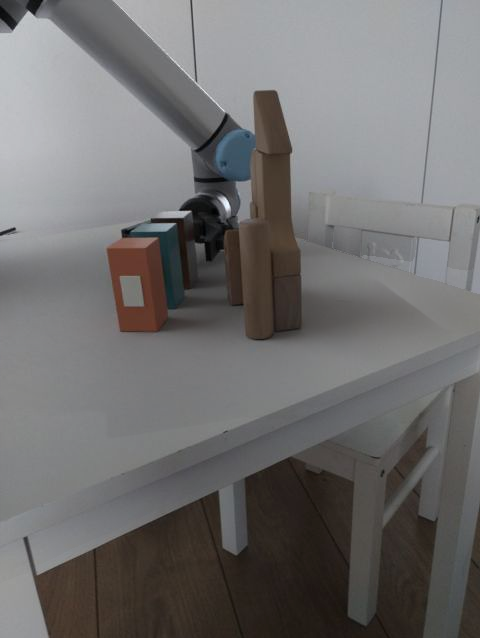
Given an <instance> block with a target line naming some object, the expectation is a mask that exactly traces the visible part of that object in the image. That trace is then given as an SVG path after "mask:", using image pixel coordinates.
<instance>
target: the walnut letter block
mask: <svg viewBox="0 0 480 638" xmlns="http://www.w3.org/2000/svg"><path fill="white" fill-rule="evenodd" d="M150 220H151V223H177V231H178V240H179V249H180V258H181V268H182V277H183V286H184V290H192V288H193V287H194V286H195V284H196V283H197V282H198V280H199V271H198V270H199V269H198V259H197V249H196V243H195V237H194V227H193V217H192V211H179V210H169V211H168V210H167V211H166V210H163V211H159V212H158V213H156V214H155V215H154V216H152V217H150Z"/></svg>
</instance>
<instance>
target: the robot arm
mask: <svg viewBox="0 0 480 638" xmlns="http://www.w3.org/2000/svg"><path fill="white" fill-rule="evenodd" d="M28 12H29V13H30V14H31V15H33V16H34V17H35V18H36V19H43V20H44V19H47V20H49V21H50V22H52V23H53V24H54V25H55V26H56V27H57V28H58V29H60V30H61V32H63V33H64V34H65V35H66V36H67V37H68V38H69V39H70V40H72V41H73V42H74V43H75V44H76V45H77V46H78V47H79V48H80V49H81V50H83V52H84V53H86V54H87V55H88V56H89V57H90V58H91V59H92V60H93V61H95V62H96V63H97V64H98V65H99V66H100V67H101V68H102V69H103V70H105V72H107V73H108V74H109V75H110V76H111V77H112V78H113V79H114V80H115V81H117V83H119V84H120V85H121V86H122V87H123V88H124V89H125V90H127V92H129V93H130V94H131V95H132V96H133V97H134V98H136V100H138V102H140V103H141V105H143V106H144V107H145V108H147V110H149V111H150V112H151V113H152V114H153V115H154V116H155V117H156V118H158V120H160V121H161V122H162V123H163V125H165V126H166V127H167V128H168V129H170V130H171V131H172V132H173V133H174V134H175V135H176V136H177V137H179V139H181V140H182V141H183V142H184V143H185V144H186V145H187V146H188V147H189V148H190V153H191V163H192V171H193V185H194V195H192V196H191V197H190V198H188V199H187V200H185V201H184V203H182V205H181V206H180V207H179V209H178V211H192V217H193V227H194V237H195V244H200V245H203V244H204V254H205V262H213V260H214V259H215V258H216V256H217V255H218V254H219V253H220V251H224V235H225V232H226V230H235V229H239V219H238V217H239V216H238V213H239V210H240V208H241V204H242V197H241V193H240V191H239V190H238V188H237V182H239V183H240V182H241V183H243V182H247V181H251V173H250V162H251V156H252V150H253V149H254V148H256V147H255V133H253V132H252V131H251V130H248V129H246V128H242V126H240V124H238V123H237V122H236V121H235V120H234V119H233V118H232V116H231V114H230V113H228V112H226V111H225V110H224V109H223V108H222V107H221V106H220V105H219V104H218V103H217V101H216V100H214V98H213V97H211V95H209V93H208V92H207V91H205V90H204V89H203V88H202V86H200V84H199V83H198V82H197V81H195V80H194V79H193V78H192V77H191V75H190V74H188V72H186V70H184V69H183V68H182V66H180V65H179V64H178V62H177V61H176V60H174V58H172V57H171V56H170V55H169V53H167V51H166V50H165V49H164V48H162V46H161V45H159V43H157V42H156V41H155V40H154V39H153V38H152V36H151V35H150V34H148V32H147V31H145V29H143V28H142V26H140V25H139V23H137V21H135V20H134V19H133V18H132V17H131V16H130V14H128V13H127V12H126V10H125V9H124V8H122V7H121V5H119V4H118V3H117V2H116V1H115V0H0V34H12V33H13V32H14V30H15V29H16V27H18V25H19V24H20V23H21V22H22V20H23V18H24V17H25V16H26V15H27V13H28ZM141 224H151V219H148V220H145V221H142V222H139V223H137V224H134V225H130V226H128V227H124V228H122V229H120V233H121V238H131V235H130V232H131V231H132V230H134V229H135V228H137V227H138V226H140V225H141ZM15 231H17V227H15V226H13V227H11V228H8V229H5V230H2V231H0V237H1V236H4V235H7V234H10V233H12V232H15Z"/></svg>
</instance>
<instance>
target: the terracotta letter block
mask: <svg viewBox="0 0 480 638" xmlns="http://www.w3.org/2000/svg"><path fill="white" fill-rule="evenodd" d="M106 255H107V261H108V267H109V272H110V279H111V285H112V290H113V292H112V293H113V297H114V303H115V309H116V315H117V321H118V327H119V331H120V332H143V333H144V332H146V333H147V332H151V333H153V332H154V333H155V332H156V333H157V332H158V331H159V330H160V329H161V328H162V326H163V325H164V324H165V322H166V321H167V320H168V319H169V309H167V301H166V293H165V285H164V277H163V269H162V261H161V253H160V245H159V238H122V237H121V238H119V239H118V240H116V241H115V242H113V243H111V244H110V245H109V246H107V247H106Z"/></svg>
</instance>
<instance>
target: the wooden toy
mask: <svg viewBox="0 0 480 638" xmlns="http://www.w3.org/2000/svg"><path fill="white" fill-rule="evenodd" d="M252 101H253V103H252V104H253V122H254V123H253V125H254V135H255V147H256V148H254V149H253V150H252V156H251V162H250V173H251V179H250V188H251V189H250V190H251V191H250V192H251V201H250V202H249V213H250V214H249V217H250V218H246V219H243V220H240V221H238V223H239V229H235V230H226V232H225V235H224V250H223V254H224V255H223V257H224V268H225V270H224V271H225V281H226V294H227V295H226V296H227V300H228V301H229V302H230V304H231V306H236V305H237V306H238V305H243V319H244V332H245V335H246V337H247V338H249V339H252V340H264V339H267V338H270V337H272V336H273V334H274V331H275V332H283V331H291V330H297V329H298V330H299V329H302V328H303V308H302V307H303V306H302V305H303V304H302V303H303V302H302V301H303V300H302V265H301V264H302V262H301V259H302V258H301V253H302V252H301V249H300V247H299V244H298V241H297V239H296V236H295V231H294V225H293V218H292V217H293V215H292V175H291V174H292V172H291V168H292V167H291V155H292V153H293V146H292V141H291V139H290V135H289V131H288V128H287V123H286V119H285V116H284V112H283V107H282V105H281V101H280V97H279V94H278V91H277V90H275V89H265V90H264V89H261V90H254V91H253V95H252Z"/></svg>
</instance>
